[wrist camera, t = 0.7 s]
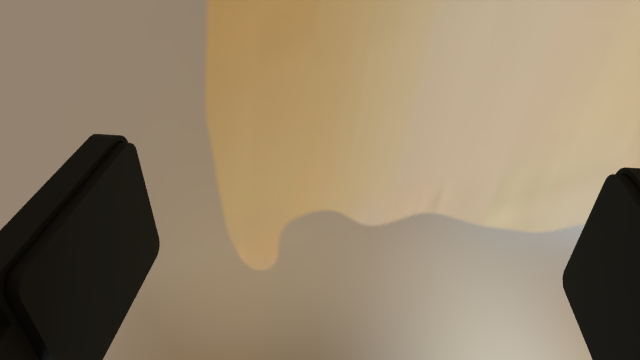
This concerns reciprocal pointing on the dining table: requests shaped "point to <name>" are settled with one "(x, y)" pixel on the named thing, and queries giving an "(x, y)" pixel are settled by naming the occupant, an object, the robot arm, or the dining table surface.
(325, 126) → the dining table surface
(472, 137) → the dining table surface
